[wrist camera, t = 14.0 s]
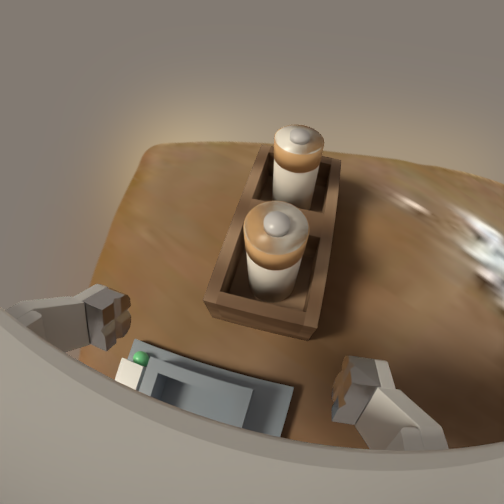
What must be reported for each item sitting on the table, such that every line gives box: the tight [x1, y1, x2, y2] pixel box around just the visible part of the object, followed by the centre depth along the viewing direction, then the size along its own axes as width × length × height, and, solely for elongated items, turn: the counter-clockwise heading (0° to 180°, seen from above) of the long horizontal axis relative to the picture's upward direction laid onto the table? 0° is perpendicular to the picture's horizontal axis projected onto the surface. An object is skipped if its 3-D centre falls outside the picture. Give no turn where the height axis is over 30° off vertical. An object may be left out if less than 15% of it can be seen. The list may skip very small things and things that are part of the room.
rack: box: [203, 145, 341, 341], centre depth 26 cm, size 18×8×4 cm, turn 165°
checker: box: [115, 339, 294, 437], centre depth 19 cm, size 10×14×4 cm
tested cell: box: [243, 201, 309, 303], centre depth 21 cm, size 4×4×9 cm
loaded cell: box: [272, 125, 324, 210], centre depth 25 cm, size 4×4×9 cm
